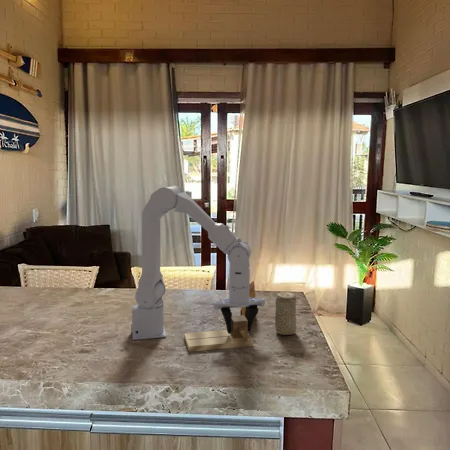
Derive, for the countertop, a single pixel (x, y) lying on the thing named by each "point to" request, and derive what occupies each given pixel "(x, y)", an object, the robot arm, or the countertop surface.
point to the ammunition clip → (251, 295)
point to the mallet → (239, 327)
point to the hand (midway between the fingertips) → (238, 331)
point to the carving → (285, 313)
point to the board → (214, 341)
